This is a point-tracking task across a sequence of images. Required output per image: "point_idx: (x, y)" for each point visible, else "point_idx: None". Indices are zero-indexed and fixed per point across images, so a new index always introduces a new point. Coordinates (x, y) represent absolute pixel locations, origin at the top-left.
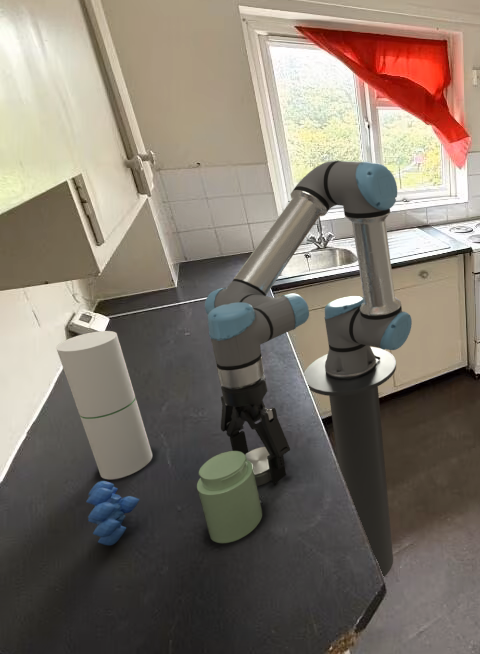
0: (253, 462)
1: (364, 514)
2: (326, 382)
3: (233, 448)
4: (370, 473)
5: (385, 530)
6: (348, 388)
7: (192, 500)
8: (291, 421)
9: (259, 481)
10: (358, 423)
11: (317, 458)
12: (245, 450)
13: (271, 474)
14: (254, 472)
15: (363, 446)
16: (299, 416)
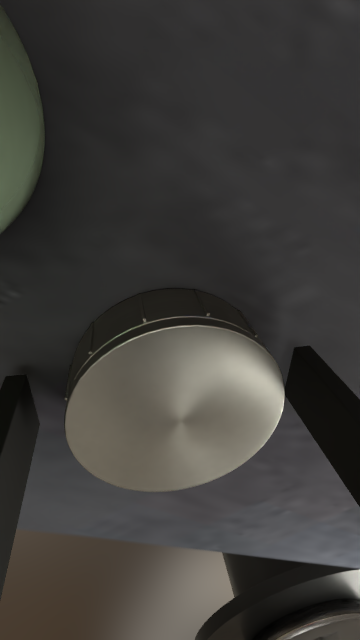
0: (190, 403)
1: None
2: (326, 592)
3: (355, 412)
4: None
5: None
6: (252, 612)
7: (315, 91)
8: (289, 519)
9: (81, 347)
10: None
11: (30, 508)
12: (306, 414)
13: (3, 415)
14: (109, 375)
15: None
16: (283, 537)
